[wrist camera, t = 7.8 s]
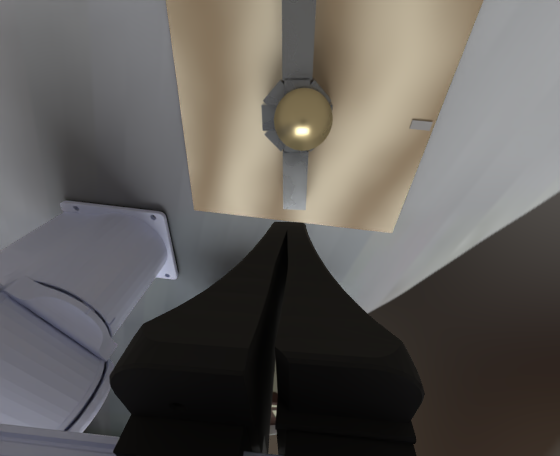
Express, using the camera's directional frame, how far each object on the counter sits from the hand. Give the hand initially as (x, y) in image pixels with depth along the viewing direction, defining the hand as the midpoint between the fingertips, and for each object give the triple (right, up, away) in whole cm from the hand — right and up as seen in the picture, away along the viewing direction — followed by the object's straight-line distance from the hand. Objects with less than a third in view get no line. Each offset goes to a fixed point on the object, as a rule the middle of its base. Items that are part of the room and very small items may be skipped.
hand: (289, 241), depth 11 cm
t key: (+1, +8, +5) cm, 9 cm away
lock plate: (+1, +8, +6) cm, 10 cm away
